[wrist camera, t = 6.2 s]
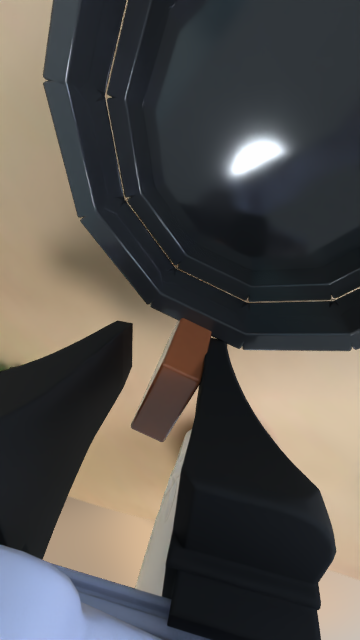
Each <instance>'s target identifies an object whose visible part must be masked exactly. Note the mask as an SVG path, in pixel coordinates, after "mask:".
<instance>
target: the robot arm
mask: <svg viewBox="0 0 360 640" xmlns="http://www.w3.org/2000/svg"><path fill="white" fill-rule="evenodd" d="M132 333H133V323H127V322H122V321H116V322H114V323H112V324H110V325H108V326H106V327H104V328H102V329H100V330H99V331H97V332H95V333H93V334H91V335H89V336H87V337H86V338H84V339H82V340H80V341H78V342H76V343H74V344H72V345H70V346H68V347H65V348H63V349H61V350H59V351H57V352H55V353H53V354H50V355H48V356H45V357H43V358H40V359H38V360H35V361H32V362H30V363H27V364H24V365H21V366H18V367H14V368H11V369H8V370H4V371H1V372H0V640H321V637H320V629H319V622H318V615H317V610H319V609H320V606H321V600H320V593H319V586H318V582H319V581H320V579H321V578H322V576H323V575H324V573H325V572H326V570H327V569H328V567H329V566H330V564H331V563H332V561H333V559H334V556H335V553H336V546H335V539H334V534H333V529H332V525H331V522H330V519H329V516H328V513H327V510H326V507H325V504H324V501H323V498H322V496H321V493H320V490H319V489H318V488H317V487H316V486H315V485H314V484H313V483H312V482H311V481H310V480H309V479H308V478H307V477H306V476H305V475H304V474H303V473H302V472H301V471H300V470H299V469H298V468H297V467H296V466H295V465H294V464H293V463H292V462H291V461H290V460H289V459H288V457H287V456H286V455H285V454H284V453H283V452H282V451H281V449H280V448H279V447H278V446H277V444H276V443H275V442H274V441H273V439H272V438H271V437H270V435H269V434H268V433H267V431H266V430H265V429H264V427H263V426H262V424H261V423H260V421H259V420H258V418H257V417H256V415H255V414H254V412H253V410H252V409H251V407H250V405H249V403H248V401H247V400H246V398H245V396H244V394H243V392H242V390H241V387H240V385H239V383H238V381H237V378H236V376H235V373H234V370H233V368H232V365H231V362H230V358H229V354H228V350H227V343H225V342H223V341H221V340H219V339H214V338H211V339H210V343H209V348H208V351H207V353H206V355H205V358H204V369H203V375H202V379H201V383H200V384H199V390H198V397H197V404H196V413H195V419H194V423H193V427H192V431H191V435H190V439H189V443H188V446H187V450H186V454H185V458H184V461H183V465H182V468H181V474H180V481H179V488H178V495H177V502H176V510H175V517H174V524H173V531H172V535H171V540H170V545H169V549H168V554H167V559H166V564H165V566H166V568H165V576H164V583H163V591H162V597H161V596H158V595H155V594H151V593H148V592H145V591H141V590H138V589H135V588H131V587H128V586H125V585H121V584H118V583H115V582H111V581H108V580H105V579H102V578H98V577H95V576H92V575H88V574H85V573H82V572H78V571H75V570H71V569H68V568H65V567H62V566H58V565H55V564H52V563H49V562H46V561H44V560H42V559H43V557H44V554H45V551H46V549H47V546H48V543H49V541H50V538H51V536H52V533H53V530H54V528H55V525H56V523H57V520H58V518H59V515H60V513H61V511H62V508H63V506H64V503H65V501H66V498H67V496H68V494H69V491H70V489H71V487H72V484H73V482H74V480H75V477H76V475H77V473H78V471H79V468H80V466H81V464H82V462H83V460H84V457H85V455H86V453H87V451H88V449H89V446H90V444H91V443H92V441H93V439H94V437H95V435H96V433H97V432H98V430H99V428H100V426H101V425H102V423H103V421H104V420H105V418H106V416H107V415H108V413H109V411H110V410H111V408H112V406H113V405H114V403H115V401H116V399H117V398H118V396H119V394H120V392H121V391H122V389H123V387H124V385H125V382H126V380H127V378H128V375H129V373H130V370H131V368H132Z"/></svg>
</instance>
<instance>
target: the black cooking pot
mask: <svg viewBox="0 0 360 640" xmlns="http://www.w3.org/2000/svg"><path fill="white" fill-rule="evenodd" d="M125 4H126V0H53V5H52V12H51V20H50V27H49V34H48V42H47V49H46V56H45V64H44V71H43V77H44V78H45V79H46V80H48V81H45V82H44V83H43V85H44V89H45V93H46V97H47V100H48V104H49V108H50V112H51V116H52V120H53V123H54V127H55V131H56V135H57V139H58V143H59V146H60V150H61V154H62V158H63V162H64V165H65V169H66V173H67V177H68V181H69V185H70V188H71V192H72V196H73V200H74V204H75V208H76V211H77V215H78V217H83V218H82V219H81V220H80V221H81V223H82V224H83V225H84V227H85V228H86V229H87V230H88V231H89V233H90V234H91V235H92V236H93V238H94V239H95V240H96V241H97V243H98V244H99V245H100V246H101V248H102V249H103V250H104V251H105V253H106V254H107V255H108V256H109V258H110V259H111V260H112V261H113V263H114V264H115V265H116V266H117V268H118V269H119V270H120V271H121V273H122V274H123V275H124V276H125V277H126V279H127V280H128V281H129V282H130V284H131V285H132V286H133V287H134V289H135V290H136V291H137V292H138V294H139V295H140V296H141V297H142V299H143V300H144V301H145V302H146V304H150V303H151V307H152V308H154V309H156V310H158V311H160V312H162V313H164V314H166V315H168V316H170V317H173V318H175V319H177V320H178V321H177V323H176V325H175V327H174V329H173V331H172V333H171V335H170V337H169V339H168V341H167V344H166V346H165V348H164V351H163V353H162V355H161V357H160V360H159V362H158V364H157V366H156V369H155V371H154V373H153V376H152V378H151V380H150V382H149V385H148V387H147V389H146V392H145V394H144V396H143V398H142V401H141V403H140V405H139V407H138V410H137V412H136V414H135V417H134V419H133V421H132V423H131V428H132V429H134V430H136V431H138V432H140V433H143V434H145V435H147V436H149V437H151V438H153V439H156V440H158V441H160V442H163V441H164V440H165V439H166V437H167V436H168V434H169V432H170V431H171V429H172V428H173V426H174V424H175V423H176V421H177V420H178V418H179V416H180V415H181V413H182V412H183V410H184V408H185V407H186V405H187V404H188V402H189V400H190V399H191V397H192V396H193V394H194V392H195V391H196V389H197V388H198V386H199V384H200V383H201V379H202V375H203V369H204V358H205V355H206V353H207V351H208V348H209V343H210V339H211V336H212V337H215V338H217V339H219V340H221V341H223V342H225V343H227V344H229V345H231V346H233V347H236V348H238V349H240V348H241V347H242V348H243V350H296V351H351V349H352V347H353V348H354V349H355V350H357V349H360V289H357V290H355V291H353V292H351V293H349V294H347V295H345V296H343V297H341V298H339V299H337V300H335V301H319V302H277V303H246V302H244V301H242V300H240V299H238V298H235V297H233V296H231V295H229V294H227V293H225V292H223V291H221V290H219V289H217V288H215V287H213V286H211V285H208V284H206V283H204V282H202V281H200V280H198V279H196V278H194V277H192V276H190V275H188V274H186V273H184V272H181V271H179V270H177V269H175V267H174V266H173V265H172V263H171V262H170V260H171V261H172V262H173V264H174V265H178V264H179V266H178V268H179V269H180V270H183V271H185V272H187V273H189V274H191V275H193V276H195V277H197V278H199V279H201V280H203V281H205V282H207V283H210V284H212V285H214V286H216V287H218V288H220V289H222V290H224V291H226V292H228V293H230V294H232V295H234V296H237V297H239V298H241V299H243V300H247V298H248V297H249V301H250V302H256V301H297V300H330V299H331V295H332V296H333V298H337V297H339V296H341V295H343V294H345V293H348V292H350V291H352V290H354V289H356V288H358V287H360V0H128V4H127V8H126V13H125V17H124V21H123V26H122V30H121V34H120V39H119V43H118V47H117V52H116V56H115V60H114V65H113V69H112V73H111V78H110V82H109V86H108V91H107V94H108V95H109V96H111V97H112V98H108V99H107V103H108V109H109V114H110V119H111V124H112V130H113V135H114V140H115V146H116V151H117V156H118V161H119V167H120V172H121V177H122V183H123V188H124V193H125V197H130V198H129V199H128V203H129V204H130V205H131V207H132V208H133V209H134V211H135V212H136V214H137V215H138V216H139V218H140V219H141V220H142V222H143V223H144V224H145V226H146V227H147V228H148V230H149V231H150V232H151V234H152V235H153V237H154V238H155V239H156V241H157V242H158V243H159V245H160V246H161V247H162V249H163V250H164V251H165V253H166V254H167V255H168V257H169V258H170V260H169V259H168V258H167V256H166V255H165V254H164V252H163V251H162V250H161V248H160V247H159V246H158V244H157V243H156V242H155V240H154V239H153V238H152V236H151V235H150V233H149V232H148V231H147V229H146V228H145V227H144V225H143V224H142V223H141V221H140V220H139V219H138V217H137V216H136V215H135V213H134V212H133V211H132V209H131V208H130V207H129V205H128V204H127V202H126V201H125V200H124V195H123V190H122V184H121V179H120V174H119V169H118V163H117V158H116V153H115V148H114V142H113V137H112V132H111V127H110V121H109V116H108V111H107V106H106V100H105V92H106V87H107V83H108V79H109V74H110V70H111V65H112V61H113V57H114V52H115V48H116V44H117V39H118V35H119V30H120V26H121V22H122V17H123V13H124V9H125Z"/></svg>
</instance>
